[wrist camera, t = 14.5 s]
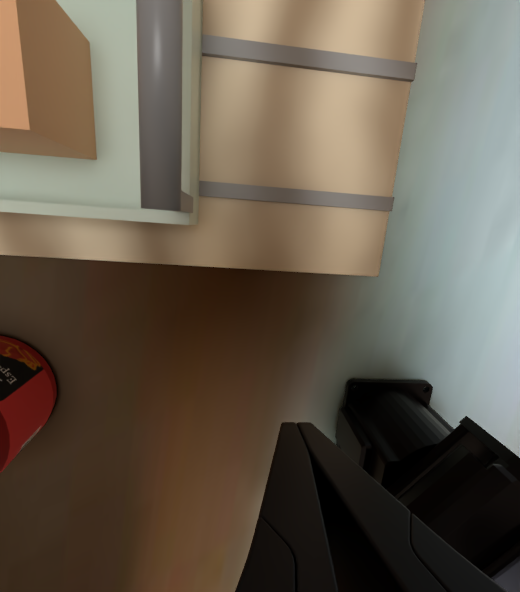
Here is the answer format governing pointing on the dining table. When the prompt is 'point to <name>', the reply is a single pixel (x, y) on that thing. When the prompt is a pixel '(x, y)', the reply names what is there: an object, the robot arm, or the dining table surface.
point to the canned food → (22, 396)
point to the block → (44, 82)
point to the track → (275, 145)
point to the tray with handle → (126, 120)
